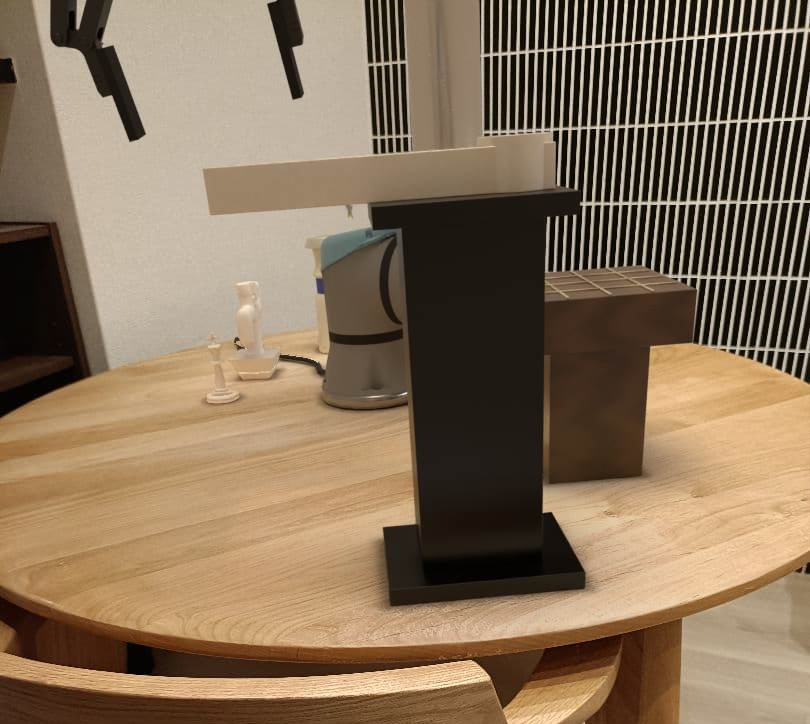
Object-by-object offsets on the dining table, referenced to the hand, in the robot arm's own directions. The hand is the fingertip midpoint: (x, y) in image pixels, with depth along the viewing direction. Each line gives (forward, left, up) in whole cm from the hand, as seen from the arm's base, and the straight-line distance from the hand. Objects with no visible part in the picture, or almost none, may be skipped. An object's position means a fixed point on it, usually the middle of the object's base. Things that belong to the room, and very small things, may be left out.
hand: (217, 118), depth 66 cm
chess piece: (-40, +27, -36) cm, 61 cm away
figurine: (-45, +39, -36) cm, 70 cm away
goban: (+19, +29, -36) cm, 50 cm away
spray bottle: (-45, +59, -36) cm, 83 cm away
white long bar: (+17, -1, -6) cm, 18 cm away
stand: (+22, +3, -36) cm, 42 cm away
